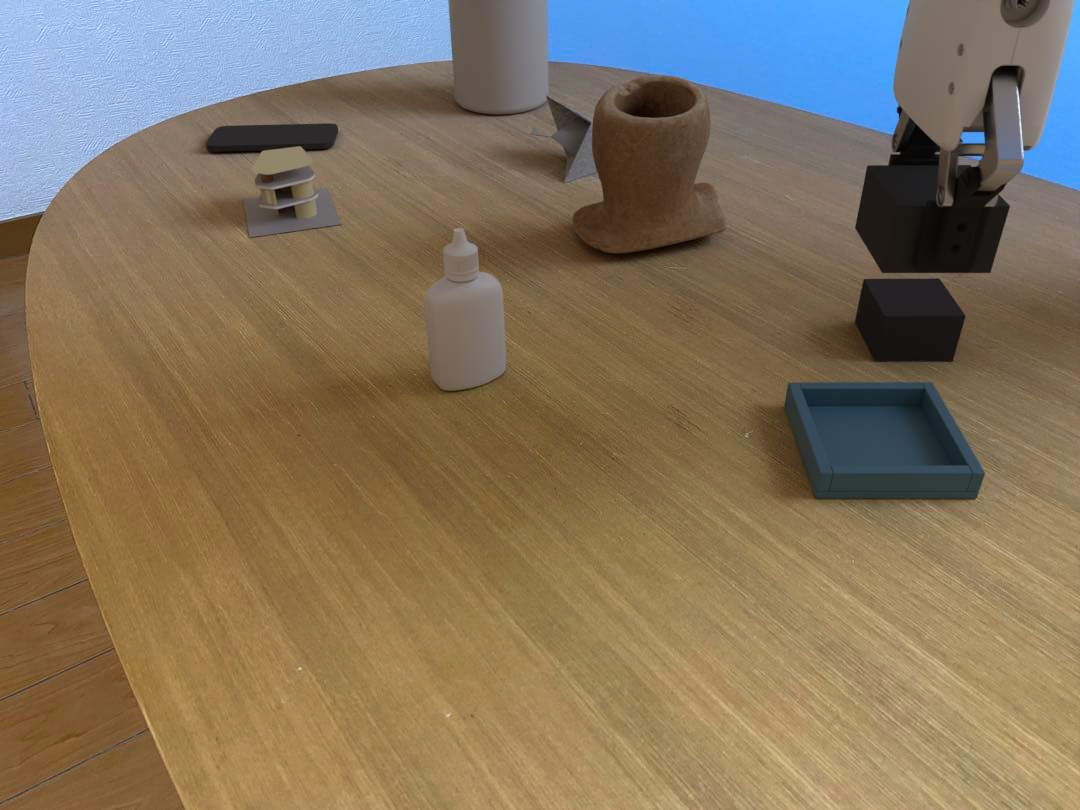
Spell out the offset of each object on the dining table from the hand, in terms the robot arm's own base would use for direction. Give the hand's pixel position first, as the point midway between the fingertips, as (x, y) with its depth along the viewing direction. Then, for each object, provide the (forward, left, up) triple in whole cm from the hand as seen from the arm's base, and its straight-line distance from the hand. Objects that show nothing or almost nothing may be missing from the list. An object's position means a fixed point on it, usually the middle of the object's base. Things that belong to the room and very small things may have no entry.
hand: (922, 240), depth 54 cm
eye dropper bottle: (+28, -9, -15) cm, 33 cm away
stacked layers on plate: (+49, -40, -15) cm, 65 cm away
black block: (-6, -14, -15) cm, 21 cm away
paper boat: (+20, -53, -15) cm, 59 cm away
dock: (0, 0, -15) cm, 15 cm away
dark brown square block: (0, 0, -1) cm, 1 cm away
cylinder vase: (+29, -76, -15) cm, 83 cm away
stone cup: (+12, -33, -15) cm, 38 cm away
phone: (+56, -61, -15) cm, 84 cm away
